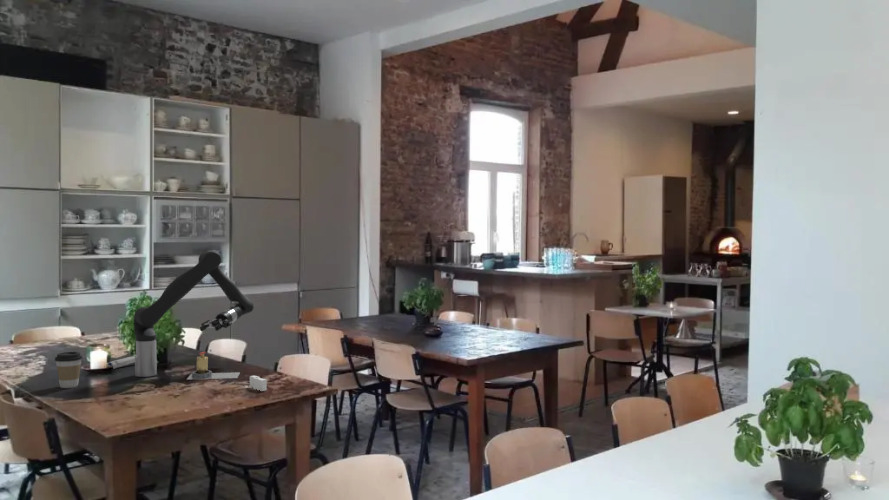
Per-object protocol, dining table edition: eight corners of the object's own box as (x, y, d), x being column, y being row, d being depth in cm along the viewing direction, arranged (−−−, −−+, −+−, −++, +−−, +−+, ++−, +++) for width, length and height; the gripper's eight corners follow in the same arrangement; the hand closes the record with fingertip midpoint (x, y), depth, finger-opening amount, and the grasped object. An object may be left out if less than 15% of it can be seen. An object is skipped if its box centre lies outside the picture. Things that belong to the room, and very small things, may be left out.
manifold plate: (186, 382, 339) (186, 375, 339) (191, 376, 352) (191, 369, 351) (237, 381, 343) (237, 373, 343) (240, 375, 356) (240, 368, 355)
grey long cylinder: (106, 361, 370) (149, 348, 390) (108, 374, 371) (151, 360, 391) (112, 362, 367) (155, 349, 387) (113, 375, 368) (157, 361, 388)
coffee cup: (88, 384, 333) (88, 352, 333) (68, 390, 323) (68, 356, 322) (69, 382, 337) (69, 350, 336) (48, 387, 326) (48, 354, 326)
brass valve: (195, 377, 343) (196, 353, 343) (196, 375, 348) (197, 351, 348) (207, 376, 344) (207, 353, 344) (207, 374, 349) (208, 351, 349)
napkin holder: (270, 392, 322) (270, 379, 322) (244, 393, 320) (244, 380, 320) (272, 385, 337) (272, 373, 336) (247, 386, 335) (247, 373, 334)
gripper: (213, 311, 372) (194, 322, 357) (237, 310, 368) (219, 321, 353) (215, 325, 374) (197, 336, 358) (240, 324, 369) (222, 335, 354)
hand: (208, 329), depth 356 cm, fingers open, 8 cm apart
